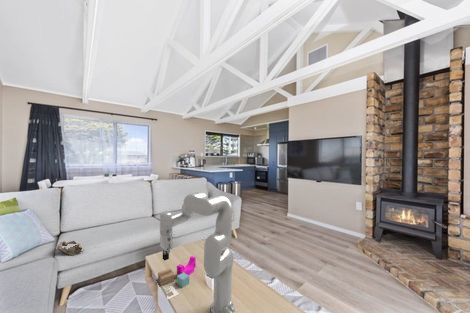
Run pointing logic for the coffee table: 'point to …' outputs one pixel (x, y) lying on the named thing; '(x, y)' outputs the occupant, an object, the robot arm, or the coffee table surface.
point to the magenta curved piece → (187, 267)
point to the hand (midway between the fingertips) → (165, 259)
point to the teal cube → (183, 279)
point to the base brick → (165, 277)
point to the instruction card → (171, 292)
